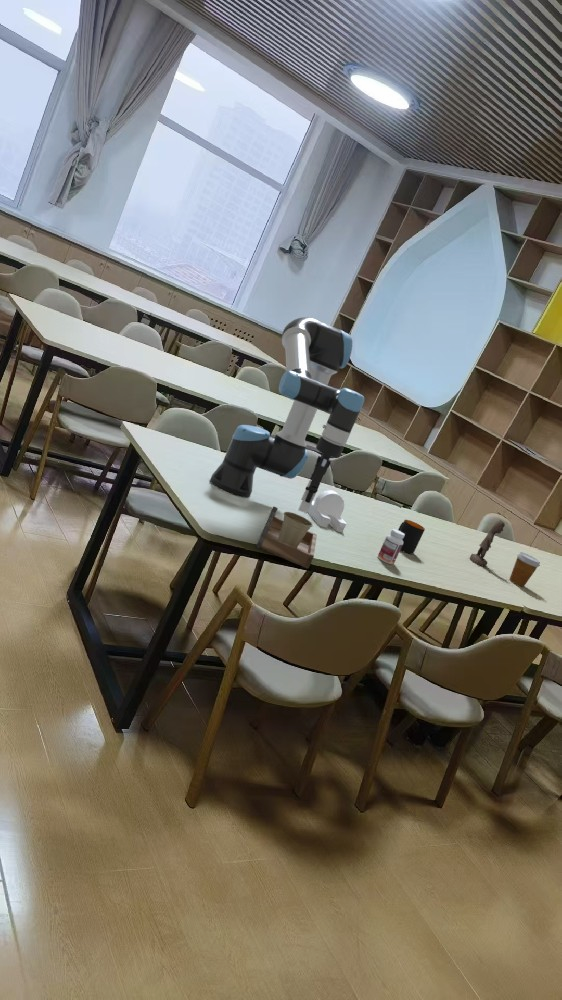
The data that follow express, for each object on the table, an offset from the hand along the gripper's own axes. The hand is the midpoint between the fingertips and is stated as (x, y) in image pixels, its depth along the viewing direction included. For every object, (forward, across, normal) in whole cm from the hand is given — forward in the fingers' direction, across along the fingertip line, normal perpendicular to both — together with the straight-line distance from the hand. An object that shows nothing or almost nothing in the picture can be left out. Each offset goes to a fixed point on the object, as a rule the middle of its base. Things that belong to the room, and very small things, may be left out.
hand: (303, 506), depth 225 cm
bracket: (+15, -52, +10) cm, 55 cm away
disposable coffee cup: (+14, -82, +95) cm, 127 cm away
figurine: (+14, -91, +79) cm, 121 cm away
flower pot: (+13, 0, 0) cm, 13 cm away
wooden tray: (+14, 0, 0) cm, 14 cm away
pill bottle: (+14, -32, +34) cm, 49 cm away
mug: (+14, -61, +42) cm, 75 cm away
